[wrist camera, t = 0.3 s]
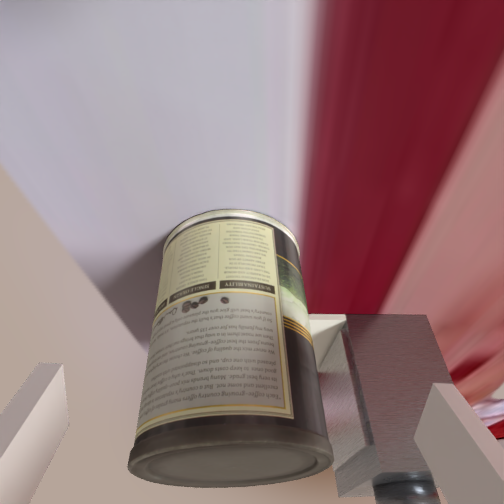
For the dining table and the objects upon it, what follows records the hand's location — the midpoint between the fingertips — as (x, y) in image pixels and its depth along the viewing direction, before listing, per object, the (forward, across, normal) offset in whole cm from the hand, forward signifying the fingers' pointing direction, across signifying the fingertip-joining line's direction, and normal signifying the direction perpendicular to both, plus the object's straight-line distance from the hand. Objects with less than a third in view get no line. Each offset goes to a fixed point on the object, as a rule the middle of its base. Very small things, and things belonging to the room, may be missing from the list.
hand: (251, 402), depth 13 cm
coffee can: (+16, -1, -1) cm, 16 cm away
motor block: (+22, +15, -13) cm, 29 cm away
